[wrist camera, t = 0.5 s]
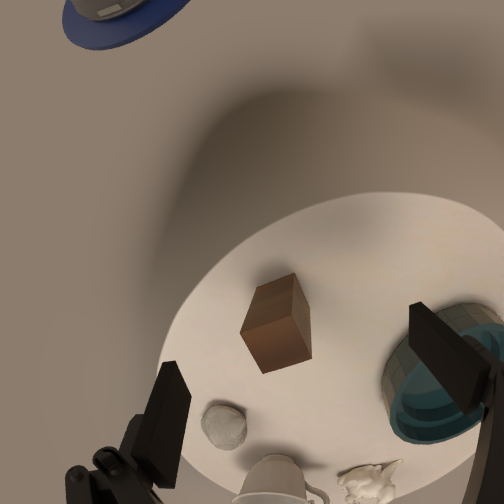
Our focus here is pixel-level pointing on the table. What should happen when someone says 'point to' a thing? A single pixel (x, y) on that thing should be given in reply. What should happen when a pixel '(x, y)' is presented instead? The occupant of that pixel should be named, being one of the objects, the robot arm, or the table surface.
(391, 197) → the table surface
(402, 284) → the table surface
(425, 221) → the table surface
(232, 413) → the pebble
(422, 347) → the robot arm
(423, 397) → the bowl
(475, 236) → the table surface
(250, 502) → the teacup
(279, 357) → the walnut block
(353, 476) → the rabbit figurine
